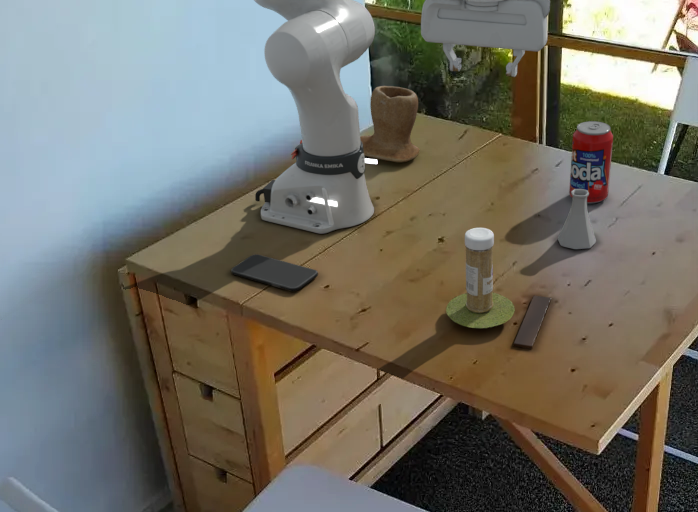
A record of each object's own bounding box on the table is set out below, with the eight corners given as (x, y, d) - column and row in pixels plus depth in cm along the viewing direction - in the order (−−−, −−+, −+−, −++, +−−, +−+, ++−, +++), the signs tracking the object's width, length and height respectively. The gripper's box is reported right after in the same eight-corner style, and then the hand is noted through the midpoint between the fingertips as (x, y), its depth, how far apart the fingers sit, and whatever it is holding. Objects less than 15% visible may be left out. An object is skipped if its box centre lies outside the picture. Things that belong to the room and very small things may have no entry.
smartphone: (254, 252, 172) (320, 270, 166) (255, 257, 173) (321, 275, 166) (227, 270, 167) (294, 289, 161) (228, 274, 167) (295, 294, 161)
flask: (594, 252, 172) (598, 202, 166) (555, 249, 173) (558, 199, 167) (597, 234, 178) (601, 185, 172) (559, 231, 179) (562, 182, 173)
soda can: (614, 195, 191) (620, 124, 182) (597, 209, 186) (603, 137, 177) (579, 186, 195) (584, 116, 186) (562, 200, 189) (566, 129, 181)
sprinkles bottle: (496, 311, 152) (497, 237, 144) (469, 315, 151) (468, 241, 144) (489, 297, 156) (489, 224, 148) (462, 301, 155) (461, 228, 147)
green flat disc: (501, 343, 148) (501, 332, 147) (435, 329, 152) (435, 319, 151) (523, 307, 157) (523, 297, 156) (461, 295, 160) (461, 285, 159)
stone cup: (430, 151, 211) (428, 85, 202) (402, 170, 203) (399, 103, 194) (374, 139, 217) (370, 75, 208) (345, 157, 209) (339, 91, 200)
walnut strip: (513, 346, 148) (513, 343, 147) (533, 298, 159) (533, 295, 159) (532, 349, 147) (532, 345, 147) (551, 300, 158) (551, 297, 158)
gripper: (555, -17, 144) (549, 72, 153) (428, -26, 149) (430, 61, 157) (546, -7, 140) (541, 85, 148) (416, -16, 144) (418, 73, 153)
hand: (483, 72), depth 153 cm, fingers open, 8 cm apart
